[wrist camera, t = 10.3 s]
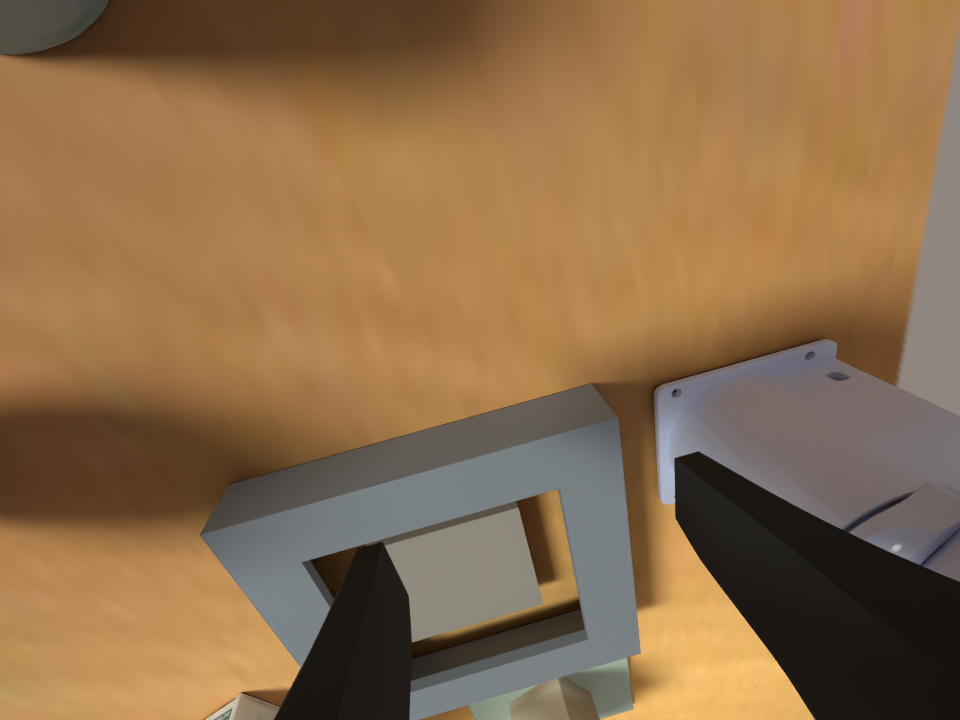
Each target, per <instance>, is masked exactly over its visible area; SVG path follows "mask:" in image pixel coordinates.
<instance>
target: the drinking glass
mask: <svg viewBox="0 0 960 720" xmlns="http://www.w3.org/2000/svg"><path fill="white" fill-rule="evenodd" d="M109 1H110V0H0V54H11V55H18V54H24V53H31V52H37V51H42V50H45V49H48V48H51V47H55V46H58V45H61V44H63V43H65V42H67V41H69V40H71V39H73V38H75V37H77V36H79V35H80V34H81V33H82V32H83V31H85V30H86V29H87V28H88V27H89V26H90V25H91V24H92V23H94V22H95V21H96V20H97V19H98V18H99V16H100V15H101V14H102V12H103V11H104V10H105V8H106V7H107V5H108V3H109Z"/></svg>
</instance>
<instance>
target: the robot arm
mask: <svg viewBox="0 0 960 720" xmlns="http://www.w3.org/2000/svg"><path fill="white" fill-rule="evenodd" d="M836 353H837V344H836V342H834V341H832V340H829V339H823V340H819V341H816V342H812V343H809V344H805V345H802V346H798V347H794V348H791V349H787V350H784V351H780V352H777V353H773V354H769V355H766V356H762V357H759V358H755V359H752V360H748V361H744V362H741V363H737V364H734V365H730V366H727V367H723V368H719V369H716V370H712V371H709V372H705V373H702V374H698V375H694V376H691V377H687V378H684V379H680V380H676V381H673V382H669V383H666V384H663V385H660V386H659V387H658V388H656V390H655V392H654V411H655V432H656V454H657V475H658V496H659V499H660V500H661V502H662V503H663V504H672V503H675V516H676V520H677V521H678V523H679V525H680V527H681V528H682V530H683V532H684V534H685V535H686V537H687V539H688V540H689V542H690V544H691V545H692V547H693V549H694V550H695V552H696V553H697V555H698V557H699V558H700V560H701V561H702V562H703V564H704V565H705V567H706V568H707V569H708V571H709V572H710V573H711V575H712V576H713V577H714V579H715V580H716V581H717V583H718V584H719V585H720V587H721V588H722V589H723V591H724V592H725V593H726V595H727V596H728V597H729V599H730V600H731V601H732V602H733V604H734V605H735V606H736V608H737V609H738V610H739V612H740V613H741V614H742V616H743V617H744V618H745V620H746V621H747V622H748V624H749V625H750V626H751V628H752V629H753V630H754V631H755V633H756V634H757V635H758V637H759V638H760V639H761V641H762V642H763V643H764V645H765V646H766V647H767V649H768V650H769V651H770V653H771V654H772V655H773V657H774V658H775V660H776V661H777V662H778V664H779V665H780V667H781V668H782V669H783V671H784V672H785V674H786V675H787V676H788V678H789V680H790V681H791V683H792V684H793V686H794V687H795V689H796V690H797V692H798V693H799V695H800V697H801V698H802V700H803V701H804V703H805V704H806V706H807V708H808V709H809V711H810V712H811V714H812V715H813V718H814V720H960V417H959V416H957V415H955V414H953V413H951V412H949V411H947V410H944V409H943V408H940V407H938V406H936V405H934V404H932V403H930V402H928V401H925V400H923V399H921V398H919V397H917V396H915V395H913V394H911V393H908V392H906V391H904V390H902V389H900V388H898V387H896V386H893V385H891V384H889V383H887V382H885V381H883V380H881V379H878V378H876V377H874V376H872V375H870V374H868V373H866V372H863V371H861V370H859V369H857V368H855V367H853V366H851V365H848V364H846V363H844V362H842V361H840V360H838V359H835V358H836ZM806 354H807V355H806ZM675 389H677V391H676V392H675V393H673V394H672V392H673V391H674V390H675ZM411 663H412V634H411V618H410V605H409V595H408V593H407V591H406V589H405V587H404V585H403V583H402V580H401V578H400V576H399V574H398V572H397V570H396V568H395V566H394V564H393V562H392V560H391V558H390V556H389V554H388V552H387V549H386V547H385V545H384V543H383V542H379V543H376V544H372V545H369V546H365V547H362V548H358V549H357V550H356V552H355V553H354V556H353V558H352V560H351V563H350V565H349V567H348V569H347V572H346V574H345V576H344V579H343V581H342V583H341V585H340V588H339V590H338V592H337V594H336V597H335V599H334V601H333V603H332V605H331V608H330V610H329V612H328V614H327V616H326V618H325V620H324V623H323V625H322V627H321V629H320V631H319V633H318V635H317V637H316V639H315V641H314V643H313V645H312V648H311V650H310V652H309V654H308V656H307V658H306V660H305V662H304V664H303V665H302V667H301V669H300V671H299V673H298V675H297V677H296V679H295V681H294V682H293V684H292V686H291V688H290V690H289V692H288V694H287V696H286V698H285V700H284V701H283V703H282V705H281V707H280V709H279V711H278V712H277V714H276V716H275V718H274V720H409V719H410V692H411Z"/></svg>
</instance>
